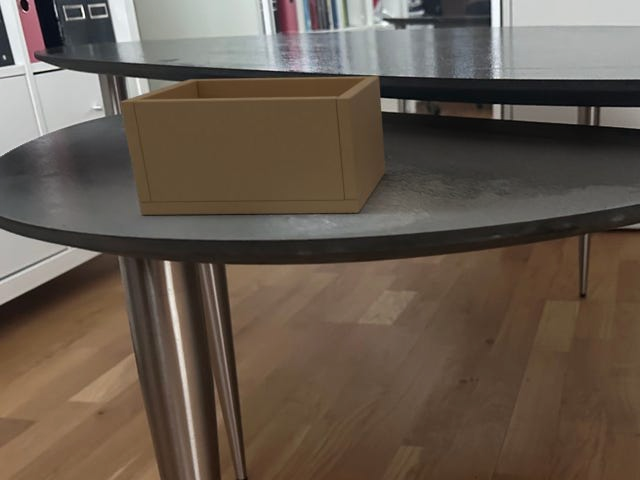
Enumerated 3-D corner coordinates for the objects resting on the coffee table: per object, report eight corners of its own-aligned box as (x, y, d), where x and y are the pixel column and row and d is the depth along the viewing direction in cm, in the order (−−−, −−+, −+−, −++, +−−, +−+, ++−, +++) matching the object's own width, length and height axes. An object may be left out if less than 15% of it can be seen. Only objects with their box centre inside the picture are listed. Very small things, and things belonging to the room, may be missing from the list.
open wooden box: (140, 215, 53) (119, 101, 50) (203, 174, 63) (189, 79, 60) (358, 213, 52) (349, 97, 49) (385, 172, 62) (379, 76, 60)
